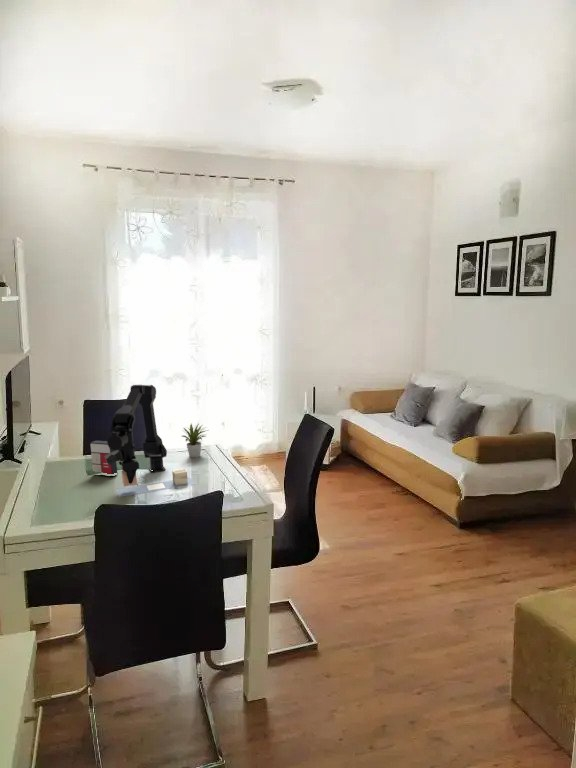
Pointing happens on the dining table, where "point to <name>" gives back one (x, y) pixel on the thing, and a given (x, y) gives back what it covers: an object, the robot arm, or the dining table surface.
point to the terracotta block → (125, 479)
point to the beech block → (179, 476)
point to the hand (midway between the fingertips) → (129, 481)
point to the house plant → (194, 441)
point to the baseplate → (150, 487)
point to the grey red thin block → (101, 457)
